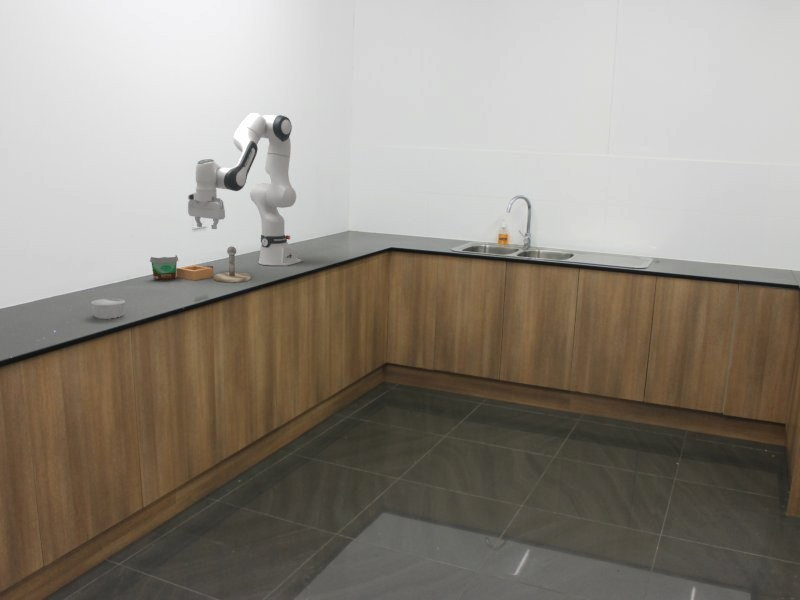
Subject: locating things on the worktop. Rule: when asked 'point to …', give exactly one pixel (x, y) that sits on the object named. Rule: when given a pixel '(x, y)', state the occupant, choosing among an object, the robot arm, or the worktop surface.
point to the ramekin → (108, 308)
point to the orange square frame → (195, 272)
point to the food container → (164, 268)
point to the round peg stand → (232, 270)
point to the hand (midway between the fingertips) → (206, 227)
